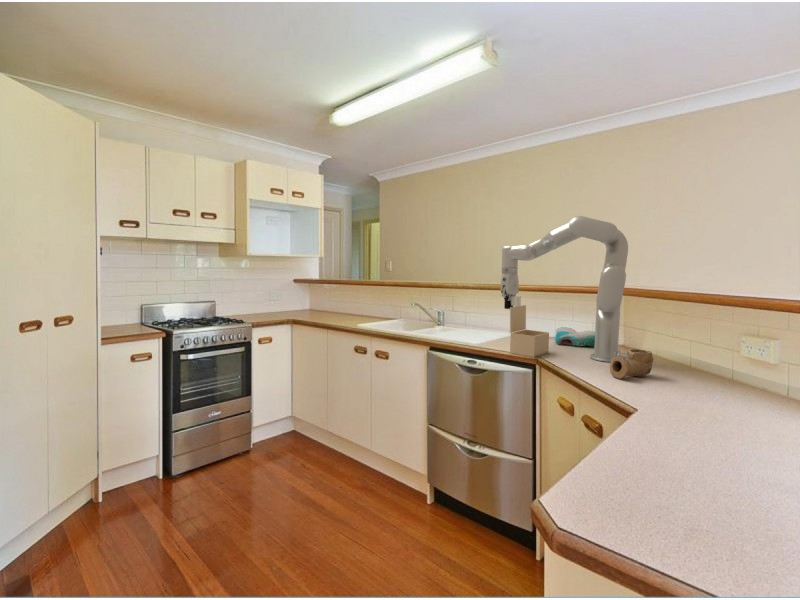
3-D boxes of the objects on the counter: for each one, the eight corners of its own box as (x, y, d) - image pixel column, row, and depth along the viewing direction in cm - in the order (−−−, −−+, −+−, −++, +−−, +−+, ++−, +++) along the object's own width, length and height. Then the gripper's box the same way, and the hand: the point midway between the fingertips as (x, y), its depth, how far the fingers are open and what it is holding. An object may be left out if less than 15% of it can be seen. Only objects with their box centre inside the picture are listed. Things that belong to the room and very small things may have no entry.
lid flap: (526, 295, 202) (514, 295, 207) (511, 297, 192) (499, 297, 196) (525, 329, 204) (514, 328, 208) (510, 332, 193) (499, 331, 197)
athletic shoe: (550, 345, 219) (552, 331, 211) (555, 333, 224) (558, 319, 216) (602, 362, 207) (607, 347, 199) (607, 349, 212) (611, 334, 204)
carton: (548, 352, 196) (549, 332, 195) (533, 357, 185) (534, 336, 185) (525, 348, 205) (525, 329, 204) (510, 353, 194) (510, 333, 193)
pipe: (605, 375, 156) (606, 350, 156) (636, 372, 162) (637, 347, 161) (626, 382, 148) (627, 355, 147) (657, 378, 154) (659, 351, 153)
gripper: (508, 271, 191) (507, 310, 193) (524, 271, 203) (523, 307, 204) (494, 271, 197) (493, 309, 198) (510, 270, 208) (509, 306, 209)
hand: (508, 308), depth 201 cm, fingers closed on lid flap
